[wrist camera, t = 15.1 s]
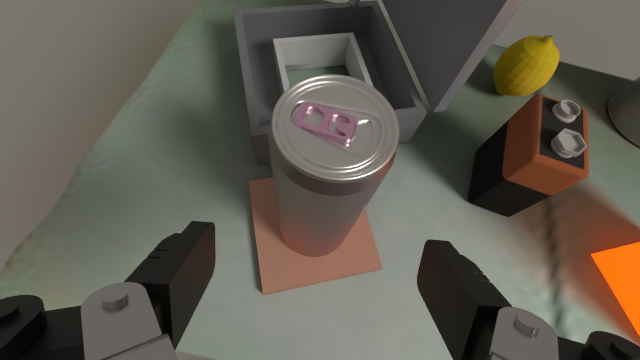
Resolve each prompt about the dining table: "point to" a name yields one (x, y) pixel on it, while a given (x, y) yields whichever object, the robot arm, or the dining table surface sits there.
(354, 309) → the dining table surface
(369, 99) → the beverage can
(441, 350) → the dining table surface
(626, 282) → the orange juice
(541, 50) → the fruit
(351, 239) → the mat
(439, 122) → the dining table surface
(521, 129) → the battery
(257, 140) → the equipment case
